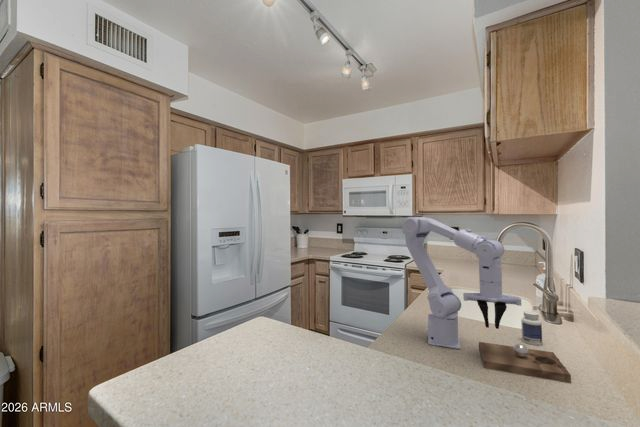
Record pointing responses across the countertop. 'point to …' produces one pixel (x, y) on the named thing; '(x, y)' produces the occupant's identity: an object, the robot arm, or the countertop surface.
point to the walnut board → (523, 362)
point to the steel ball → (521, 350)
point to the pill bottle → (531, 328)
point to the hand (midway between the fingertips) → (491, 327)
